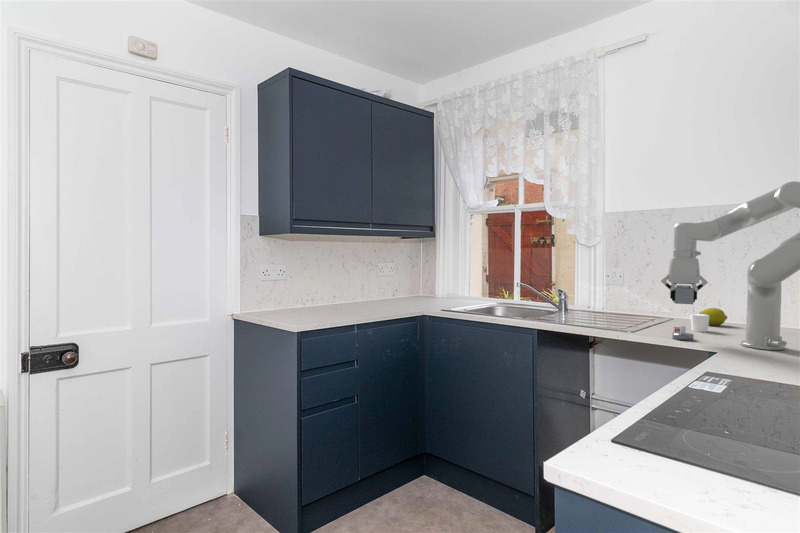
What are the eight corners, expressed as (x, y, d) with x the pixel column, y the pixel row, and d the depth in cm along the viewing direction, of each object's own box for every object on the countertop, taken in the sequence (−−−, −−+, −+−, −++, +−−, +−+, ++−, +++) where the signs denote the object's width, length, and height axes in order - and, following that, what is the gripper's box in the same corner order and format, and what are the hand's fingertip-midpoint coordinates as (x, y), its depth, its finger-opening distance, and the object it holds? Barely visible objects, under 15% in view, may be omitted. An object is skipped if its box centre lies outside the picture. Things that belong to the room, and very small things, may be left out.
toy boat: (694, 341, 175) (695, 328, 174) (673, 339, 178) (673, 327, 177) (687, 332, 192) (688, 321, 192) (668, 331, 195) (668, 319, 195)
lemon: (727, 325, 211) (727, 308, 211) (726, 327, 205) (727, 309, 204) (699, 323, 217) (699, 306, 217) (697, 325, 211) (698, 308, 211)
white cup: (693, 331, 195) (693, 315, 194) (687, 329, 201) (687, 313, 201) (711, 332, 193) (712, 316, 193) (705, 329, 200) (705, 313, 199)
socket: (693, 304, 175) (693, 286, 175) (675, 303, 177) (675, 285, 177) (691, 302, 180) (691, 285, 180) (673, 301, 183) (673, 284, 183)
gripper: (709, 254, 178) (708, 301, 178) (658, 254, 185) (657, 299, 186) (713, 255, 171) (711, 303, 172) (659, 254, 178) (658, 300, 179)
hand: (683, 300), depth 179 cm, fingers closed on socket, 6 cm apart
